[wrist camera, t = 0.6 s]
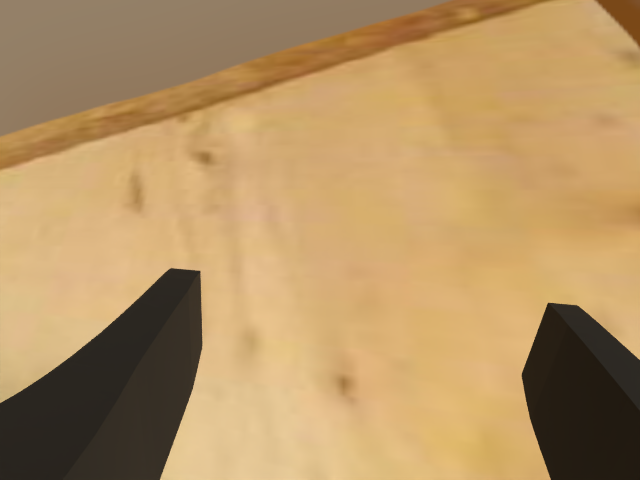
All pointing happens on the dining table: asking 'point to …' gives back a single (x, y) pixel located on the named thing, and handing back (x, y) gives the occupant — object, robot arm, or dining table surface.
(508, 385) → the dining table surface
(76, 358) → the robot arm
